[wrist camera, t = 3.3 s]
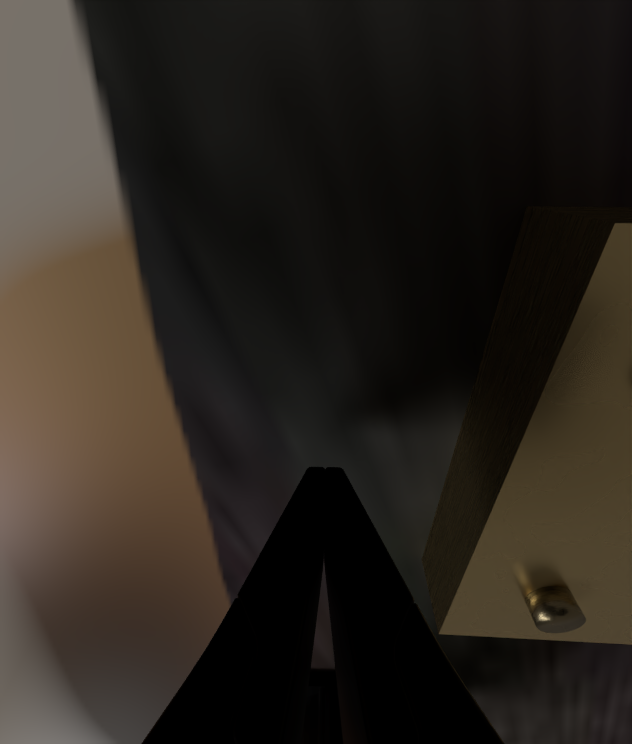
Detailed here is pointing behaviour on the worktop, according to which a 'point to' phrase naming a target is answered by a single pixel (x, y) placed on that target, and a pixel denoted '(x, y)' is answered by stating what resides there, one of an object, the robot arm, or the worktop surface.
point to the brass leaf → (546, 446)
